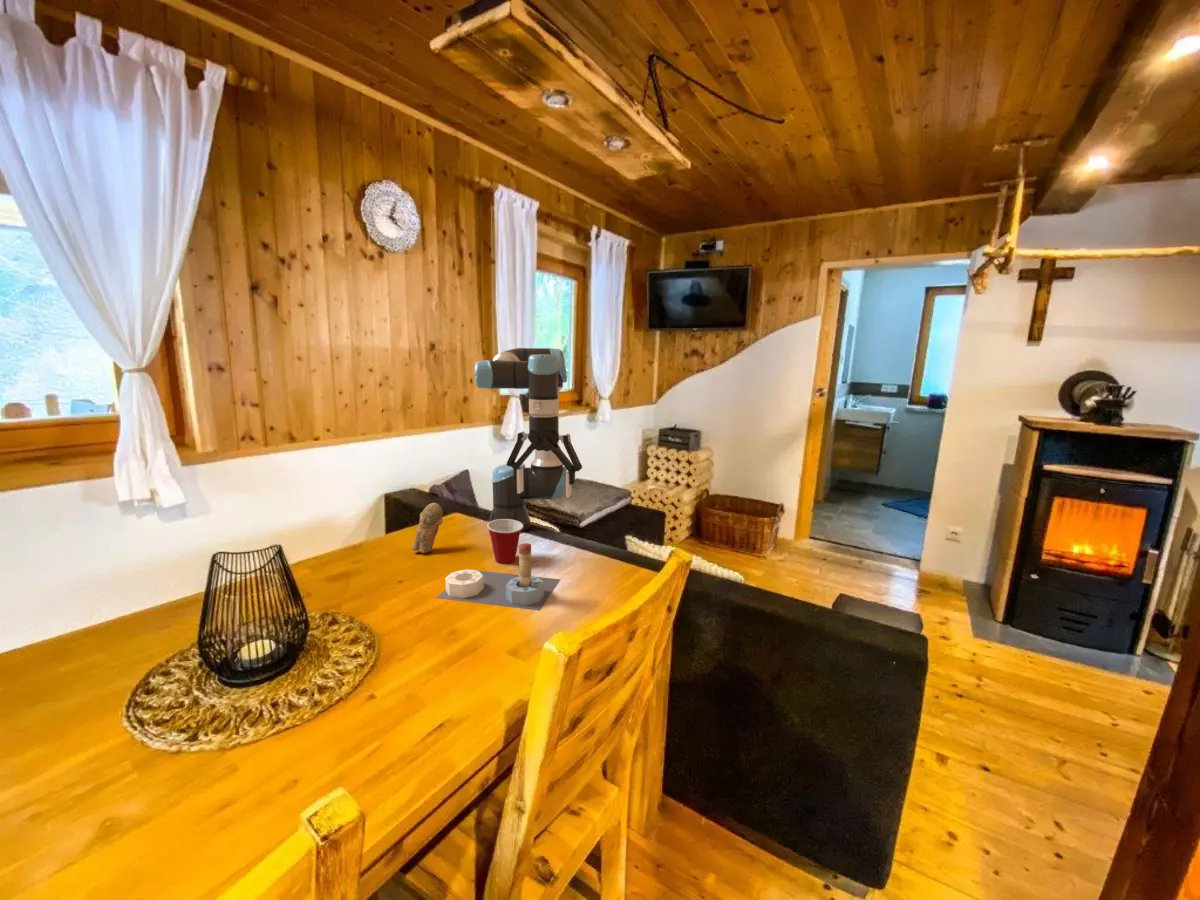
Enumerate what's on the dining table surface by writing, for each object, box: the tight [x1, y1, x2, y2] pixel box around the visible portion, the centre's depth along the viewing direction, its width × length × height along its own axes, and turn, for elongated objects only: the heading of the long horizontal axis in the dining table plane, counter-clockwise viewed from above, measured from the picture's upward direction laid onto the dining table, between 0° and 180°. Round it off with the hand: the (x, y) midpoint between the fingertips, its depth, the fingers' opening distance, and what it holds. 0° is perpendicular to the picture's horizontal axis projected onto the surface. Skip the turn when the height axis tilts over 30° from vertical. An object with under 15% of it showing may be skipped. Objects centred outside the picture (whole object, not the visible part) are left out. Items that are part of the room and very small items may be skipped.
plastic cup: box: [486, 519, 523, 565], centre depth 151 cm, size 11×11×12 cm
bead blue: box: [506, 575, 544, 606], centre depth 129 cm, size 9×9×4 cm
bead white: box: [444, 568, 484, 598], centre depth 132 cm, size 9×9×4 cm
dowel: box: [518, 543, 532, 588], centre depth 128 cm, size 3×3×14 cm
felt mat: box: [435, 569, 561, 611], centre depth 133 cm, size 18×28×1 cm, turn 78°
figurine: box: [411, 502, 444, 554], centre depth 158 cm, size 8×8×15 cm
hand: (544, 494), depth 133 cm, fingers open, 13 cm apart
